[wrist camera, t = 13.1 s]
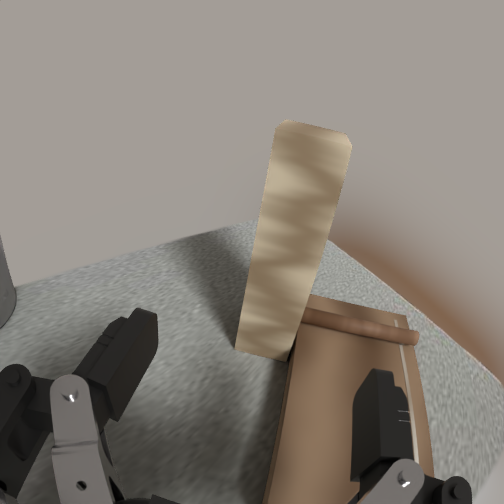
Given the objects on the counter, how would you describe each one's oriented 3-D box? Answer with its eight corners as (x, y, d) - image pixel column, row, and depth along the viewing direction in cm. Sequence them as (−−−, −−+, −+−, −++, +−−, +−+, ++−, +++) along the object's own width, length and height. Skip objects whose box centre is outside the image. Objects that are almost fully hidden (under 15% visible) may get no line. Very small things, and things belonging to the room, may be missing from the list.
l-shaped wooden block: (234, 349, 24) (275, 128, 16) (248, 308, 28) (285, 119, 20) (404, 383, 22) (505, 201, 14) (396, 342, 27) (473, 177, 19)
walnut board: (258, 520, 13) (265, 513, 12) (297, 309, 29) (303, 291, 28) (417, 527, 12) (436, 518, 11) (397, 331, 28) (406, 315, 27)
